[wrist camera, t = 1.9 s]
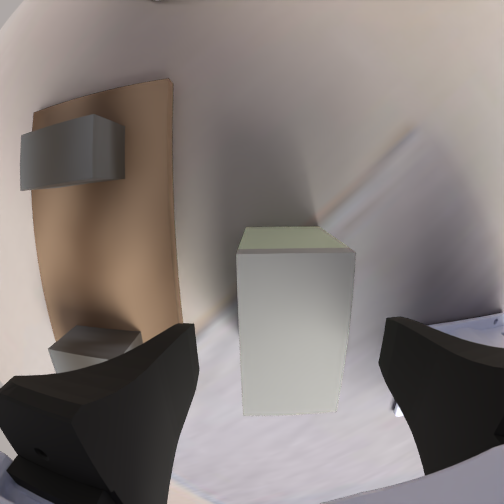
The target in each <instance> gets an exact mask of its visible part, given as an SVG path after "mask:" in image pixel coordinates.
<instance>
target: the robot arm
mask: <svg viewBox="0 0 504 504" xmlns="http://www.w3.org/2000/svg"><path fill="white" fill-rule="evenodd" d="M379 366H380V369H381V372H382V374H383V377H384V380H385V382H386V384H387V386H388V388H389V390H390V392H391V393H392V395H393V397H394V399H395V401H396V402H397V403H396V406H395V409H394V414H395V416H397V417H399V416H404V417H405V419H406V421H407V423H408V425H409V427H410V429H411V431H412V434H413V437H414V440H415V443H416V445H417V448H418V452H419V455H420V458H421V462H422V465H423V469H424V473H425V476H423V477H420V478H417V479H413V480H410V481H407V482H403V483H399V484H396V485H392V486H388V487H384V488H380V489H375V490H371V491H366V492H361V493H357V494H354V495H350V496H347V497H343V498H339V499H335V500H331V501H327V502H323V503H320V504H504V313H498V314H493V315H488V316H483V317H477V318H472V319H466V320H460V321H453V322H447V323H440V324H433V325H424V324H422V323H419V322H417V321H414V320H411V319H408V318H404V317H391V318H387V319H386V325H385V331H384V337H383V342H382V348H381V353H380V358H379ZM198 375H199V362H198V354H197V346H196V337H195V327H194V324H189V323H177V324H175V325H173V326H171V327H170V328H168V329H166V330H165V331H163V332H161V333H160V334H158V335H156V336H155V337H153V338H151V339H150V340H148V341H146V342H145V343H143V344H141V345H139V346H137V347H135V348H133V349H132V350H130V351H128V352H126V353H124V354H122V355H119V356H117V357H115V358H112V359H110V360H107V361H104V362H102V363H99V364H95V365H92V366H88V367H85V368H81V369H77V370H73V371H68V372H63V373H56V374H48V375H32V376H14V377H13V378H11V379H10V380H9V381H8V382H7V383H6V384H5V385H4V386H3V387H2V388H0V428H1V430H2V431H3V433H4V435H5V436H6V438H7V439H8V441H9V442H10V444H11V445H12V447H13V448H14V450H15V451H16V453H17V454H18V456H17V457H16V458H15V459H14V461H12V460H11V459H10V458H9V457H8V456H7V455H6V454H4V453H3V452H1V451H0V504H167V499H168V492H169V485H170V479H171V473H172V467H173V462H174V457H175V452H176V448H177V443H178V440H179V436H180V433H181V430H182V428H183V425H184V422H185V419H186V416H187V414H188V411H189V408H190V405H191V402H192V399H193V397H194V394H195V391H196V386H197V381H198Z"/></svg>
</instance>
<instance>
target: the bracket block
mask: <svg viewBox="0 0 504 504" xmlns="http://www.w3.org/2000/svg"><path fill="white" fill-rule="evenodd" d="M355 256H356V252H354V251H353V250H352V249H350V248H349V247H347V246H346V245H345V244H343V243H342V242H340V241H339V240H338V239H336V238H335V237H333V236H332V235H330V234H329V233H327V232H326V231H325V230H323V229H322V228H320V227H319V226H305V227H246V229H245V231H244V234H243V237H242V239H241V242H240V245H239V247H238V250H237V253H236V267H237V295H238V321H239V344H240V366H241V386H242V406H243V416H284V415H304V414H318V413H330V412H336V411H337V406H338V401H339V395H340V389H341V384H342V377H343V371H344V365H345V358H346V351H347V343H348V335H349V327H350V318H351V308H352V298H353V286H354V272H355Z"/></svg>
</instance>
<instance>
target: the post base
mask: <svg viewBox="0 0 504 504" xmlns="http://www.w3.org/2000/svg"><path fill="white" fill-rule="evenodd" d="M172 118H173V83H172V82H171V81H170V80H169V78H168V79H161V80H155V81H149V82H144V83H138V84H133V85H128V86H124V87H119V88H115V89H110V90H106V91H102V92H98V93H94V94H90V95H87V96H83V97H80V98H76V99H73V100H70V101H66V102H63V103H60V104H57V105H54V106H51V107H48V108H45V109H43V110H40V111H37V112H34V115H33V127H32V132H29V133H26V134H24V135H21V154H20V187H21V191H24V190H31V193H32V211H33V224H34V234H35V242H36V250H37V257H38V264H39V270H40V276H41V281H42V286H43V291H44V296H45V301H46V305H47V310H48V314H49V318H50V322H51V326H52V329H53V333H54V337H55V340H56V343H54V344H53V345H52V346H51V347H50V348H48V350H49V354H50V357H51V360H52V363H53V365H54V368H55V371H56V373H63V372H68V371H73V370H77V369H81V368H85V367H88V366H92V365H95V364H99V363H102V362H104V361H107V360H110V359H112V358H115V357H117V356H119V355H122V354H124V353H126V352H128V351H130V350H132V349H133V348H135V347H137V346H139V345H141V344H143V343H145V342H146V341H148V340H150V339H151V338H153V337H155V336H156V335H158V334H160V333H161V332H163V331H165V330H166V329H168V328H170V327H171V326H173V325H175V324H177V323H183V317H182V308H181V299H180V289H179V278H178V266H177V253H176V238H175V220H174V198H173V160H172Z"/></svg>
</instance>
